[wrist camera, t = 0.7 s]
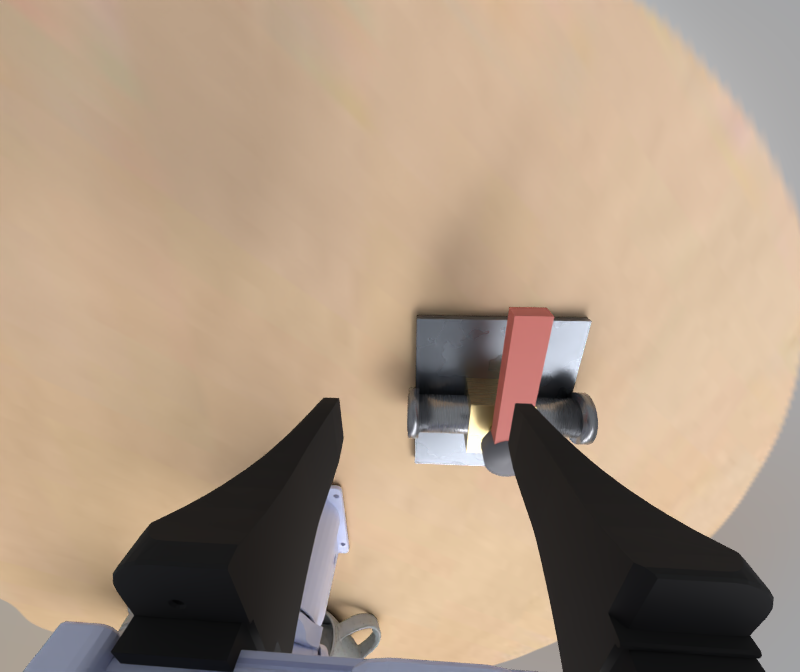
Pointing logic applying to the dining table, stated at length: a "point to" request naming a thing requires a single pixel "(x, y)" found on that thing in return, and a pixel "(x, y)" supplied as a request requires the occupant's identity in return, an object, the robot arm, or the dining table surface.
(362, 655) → the ceramic mug
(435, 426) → the valve assembly
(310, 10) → the dining table surface
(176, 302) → the dining table surface
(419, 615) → the dining table surface
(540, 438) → the robot arm
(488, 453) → the valve lever
